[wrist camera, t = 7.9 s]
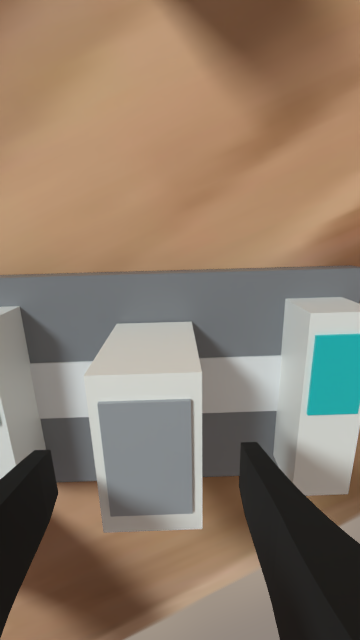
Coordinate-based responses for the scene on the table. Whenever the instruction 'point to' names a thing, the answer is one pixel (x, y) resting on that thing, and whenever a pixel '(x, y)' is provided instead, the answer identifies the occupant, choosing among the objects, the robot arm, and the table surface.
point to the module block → (147, 427)
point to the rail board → (215, 359)
